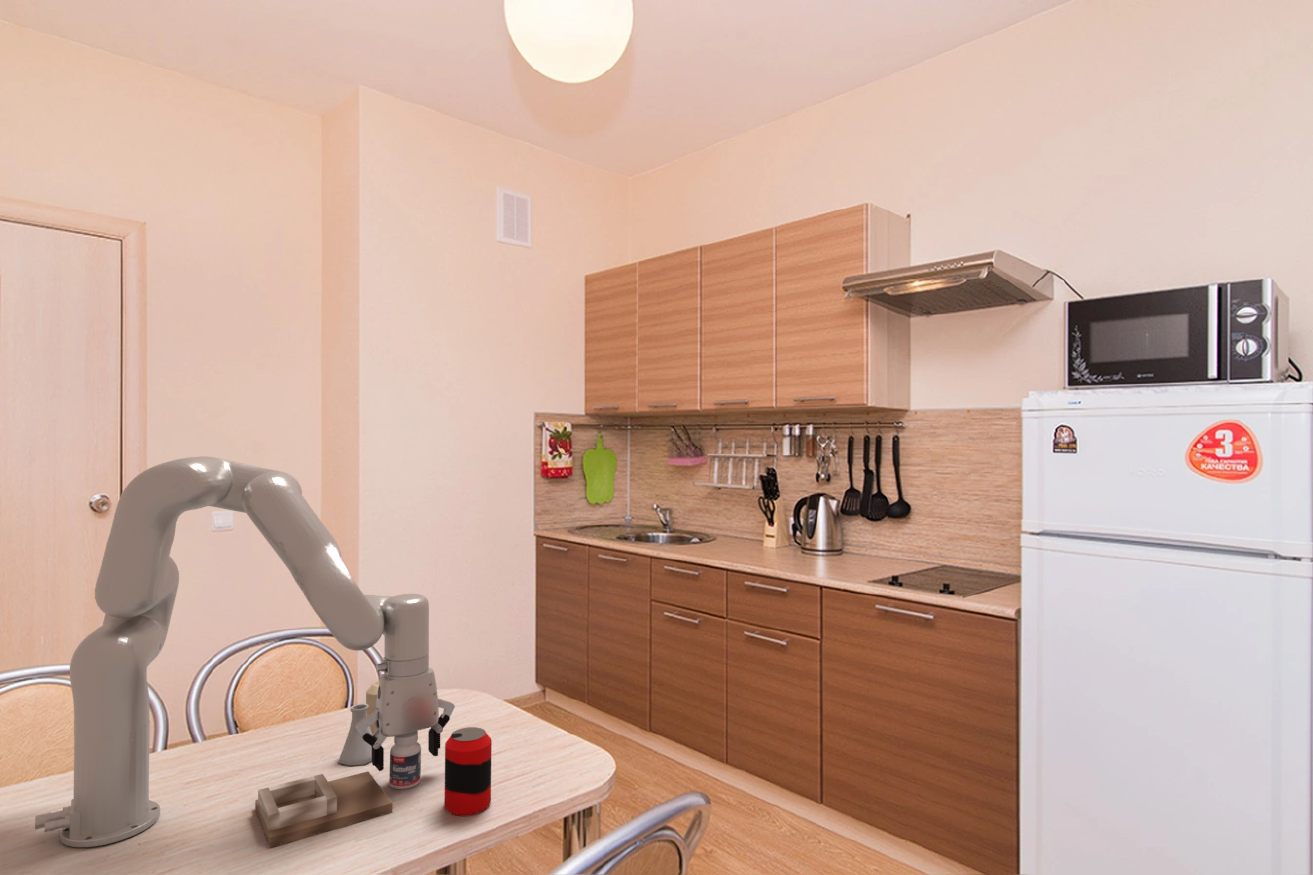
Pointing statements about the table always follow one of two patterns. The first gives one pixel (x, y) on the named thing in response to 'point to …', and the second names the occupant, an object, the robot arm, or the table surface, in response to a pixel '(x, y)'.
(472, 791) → the soda can
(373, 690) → the candle
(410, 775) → the pill bottle
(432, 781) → the table surface
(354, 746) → the flask
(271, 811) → the socket board
